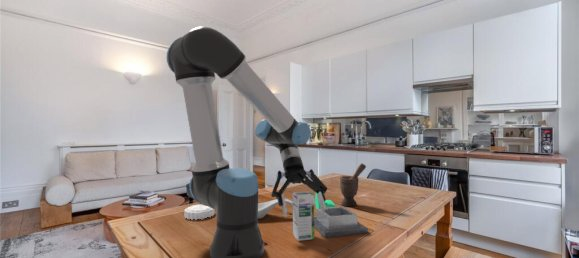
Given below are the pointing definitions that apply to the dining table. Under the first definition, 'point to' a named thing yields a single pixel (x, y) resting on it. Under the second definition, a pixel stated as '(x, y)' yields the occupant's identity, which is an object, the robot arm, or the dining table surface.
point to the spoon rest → (269, 207)
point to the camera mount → (327, 202)
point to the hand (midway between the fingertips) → (305, 212)
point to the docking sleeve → (338, 222)
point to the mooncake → (198, 212)
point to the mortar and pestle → (350, 187)
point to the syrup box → (303, 215)
